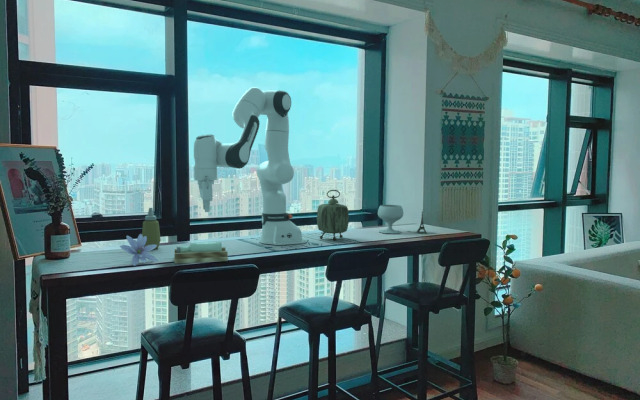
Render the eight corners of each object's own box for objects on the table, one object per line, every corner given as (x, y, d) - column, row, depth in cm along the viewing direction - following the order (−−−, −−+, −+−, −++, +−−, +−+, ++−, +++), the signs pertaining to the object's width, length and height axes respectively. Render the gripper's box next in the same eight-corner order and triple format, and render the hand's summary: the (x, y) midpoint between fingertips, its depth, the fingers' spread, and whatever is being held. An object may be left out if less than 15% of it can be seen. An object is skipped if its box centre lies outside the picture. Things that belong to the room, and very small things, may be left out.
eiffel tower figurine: (404, 232, 274) (405, 208, 273) (416, 230, 280) (417, 207, 279) (425, 235, 262) (425, 211, 261) (437, 234, 268) (438, 210, 267)
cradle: (224, 255, 202) (224, 246, 202) (227, 260, 190) (227, 252, 190) (174, 257, 196) (174, 248, 196) (174, 263, 185) (174, 254, 184)
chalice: (388, 230, 278) (388, 203, 277) (408, 232, 268) (408, 205, 267) (372, 232, 269) (372, 205, 268) (391, 235, 259) (392, 207, 257)
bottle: (220, 254, 198) (220, 242, 198) (221, 254, 193) (221, 241, 194) (176, 256, 193) (176, 243, 193) (176, 256, 188) (176, 243, 189)
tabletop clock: (343, 237, 250) (344, 189, 248) (349, 240, 241) (350, 190, 239) (316, 238, 245) (317, 189, 243) (322, 241, 237) (322, 190, 235)
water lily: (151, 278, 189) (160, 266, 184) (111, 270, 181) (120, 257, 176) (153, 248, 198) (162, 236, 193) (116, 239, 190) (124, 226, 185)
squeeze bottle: (154, 250, 210) (154, 209, 208) (137, 249, 211) (136, 208, 210) (164, 247, 218) (163, 207, 216) (147, 246, 219) (147, 206, 218)
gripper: (216, 176, 183) (216, 213, 184) (211, 174, 202) (212, 207, 204) (198, 177, 181) (199, 213, 182) (196, 174, 201) (197, 208, 202)
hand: (206, 210), depth 193 cm, fingers open, 8 cm apart
